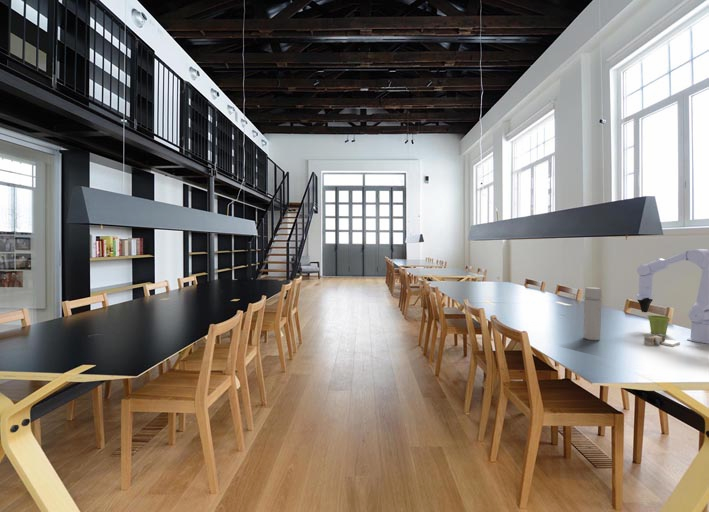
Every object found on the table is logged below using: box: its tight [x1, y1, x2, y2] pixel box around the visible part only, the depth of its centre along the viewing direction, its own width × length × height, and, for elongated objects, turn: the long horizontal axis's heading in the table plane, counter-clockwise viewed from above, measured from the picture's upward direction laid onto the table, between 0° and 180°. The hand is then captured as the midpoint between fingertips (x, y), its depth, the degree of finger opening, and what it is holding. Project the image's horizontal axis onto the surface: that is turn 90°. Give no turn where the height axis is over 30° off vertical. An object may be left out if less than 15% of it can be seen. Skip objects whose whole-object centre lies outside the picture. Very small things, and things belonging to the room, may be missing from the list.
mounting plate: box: [661, 339, 681, 347], centre depth 181 cm, size 4×8×1 cm, turn 122°
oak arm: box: [643, 334, 666, 346], centre depth 183 cm, size 12×3×4 cm, turn 114°
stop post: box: [654, 337, 661, 346], centre depth 180 cm, size 2×2×4 cm
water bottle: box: [582, 286, 603, 341], centre depth 191 cm, size 9×8×25 cm
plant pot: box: [647, 314, 671, 336], centre depth 201 cm, size 9×9×9 cm
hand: (644, 312), depth 210 cm, fingers closed
